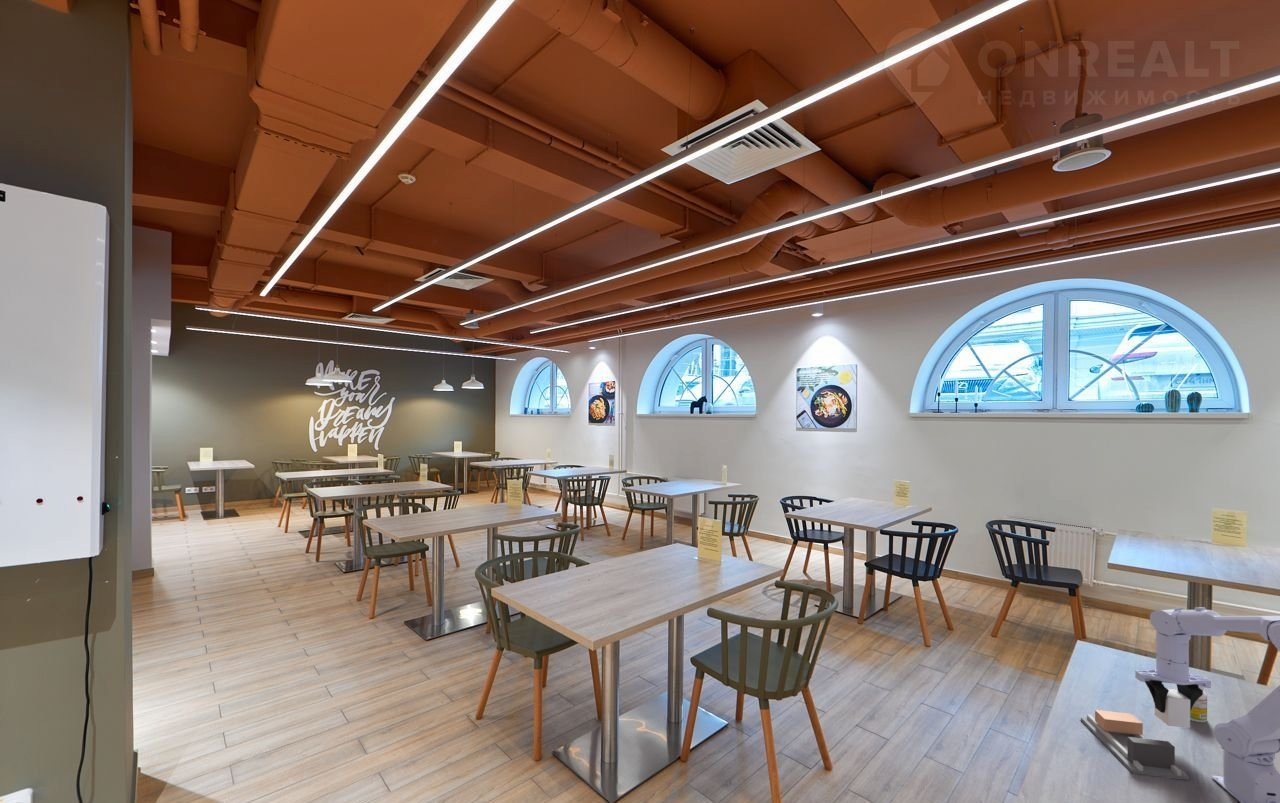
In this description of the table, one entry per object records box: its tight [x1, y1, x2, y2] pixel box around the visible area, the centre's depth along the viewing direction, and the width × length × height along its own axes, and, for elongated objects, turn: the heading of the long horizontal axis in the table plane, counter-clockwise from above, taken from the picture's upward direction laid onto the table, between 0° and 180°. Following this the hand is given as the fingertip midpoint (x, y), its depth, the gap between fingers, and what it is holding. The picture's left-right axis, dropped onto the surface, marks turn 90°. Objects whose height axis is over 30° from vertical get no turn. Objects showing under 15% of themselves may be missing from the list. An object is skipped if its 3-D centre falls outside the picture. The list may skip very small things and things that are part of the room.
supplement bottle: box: [1190, 686, 1208, 723], centre depth 142 cm, size 5×5×10 cm
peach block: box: [1094, 709, 1144, 736], centre depth 135 cm, size 4×8×3 cm, turn 77°
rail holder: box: [1080, 714, 1190, 781], centre depth 131 cm, size 20×11×6 cm, turn 167°
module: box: [1154, 688, 1191, 729], centre depth 130 cm, size 4×4×7 cm
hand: (1172, 711), depth 130 cm, fingers closed on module, 4 cm apart
